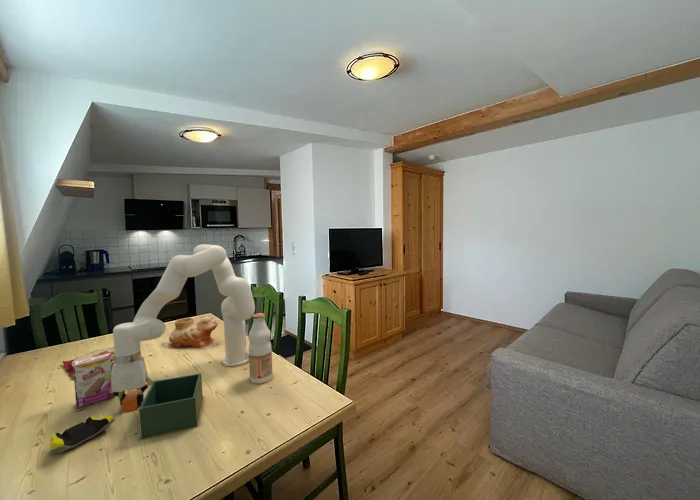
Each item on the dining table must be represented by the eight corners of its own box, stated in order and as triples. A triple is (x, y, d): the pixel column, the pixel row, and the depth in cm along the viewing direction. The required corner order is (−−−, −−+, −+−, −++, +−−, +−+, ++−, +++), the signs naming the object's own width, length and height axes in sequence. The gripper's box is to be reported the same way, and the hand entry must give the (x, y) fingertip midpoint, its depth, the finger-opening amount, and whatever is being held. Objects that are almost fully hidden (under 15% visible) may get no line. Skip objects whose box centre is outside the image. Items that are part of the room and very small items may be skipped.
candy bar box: (76, 409, 108) (72, 366, 106) (76, 404, 111) (71, 361, 110) (115, 397, 116) (112, 356, 114) (113, 391, 119) (110, 352, 118)
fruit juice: (247, 384, 123) (243, 318, 121) (253, 373, 133) (250, 311, 130) (269, 383, 124) (267, 318, 121) (274, 372, 133) (272, 311, 131)
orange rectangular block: (141, 399, 114) (140, 389, 114) (135, 409, 108) (135, 399, 107) (129, 401, 113) (128, 391, 112) (122, 412, 106) (121, 401, 106)
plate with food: (62, 365, 143) (61, 358, 143) (126, 346, 163) (126, 340, 163) (72, 381, 129) (71, 374, 128) (142, 358, 149) (141, 352, 148)
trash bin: (202, 397, 115) (201, 373, 114) (197, 426, 98) (195, 397, 97) (155, 406, 109) (153, 381, 108) (141, 438, 93) (138, 409, 92)
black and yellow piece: (117, 430, 97) (101, 422, 101) (116, 414, 96) (99, 406, 100) (56, 464, 83) (40, 452, 88) (54, 446, 83) (38, 435, 87)
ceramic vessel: (211, 348, 160) (210, 321, 159) (163, 348, 160) (161, 321, 159) (223, 338, 174) (221, 313, 173) (178, 338, 174) (176, 313, 173)
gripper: (95, 366, 102) (100, 416, 104) (152, 357, 108) (156, 405, 110) (104, 357, 109) (108, 404, 111) (157, 349, 115) (161, 394, 117)
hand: (132, 404), depth 110 cm, fingers closed on orange rectangular block, 4 cm apart
